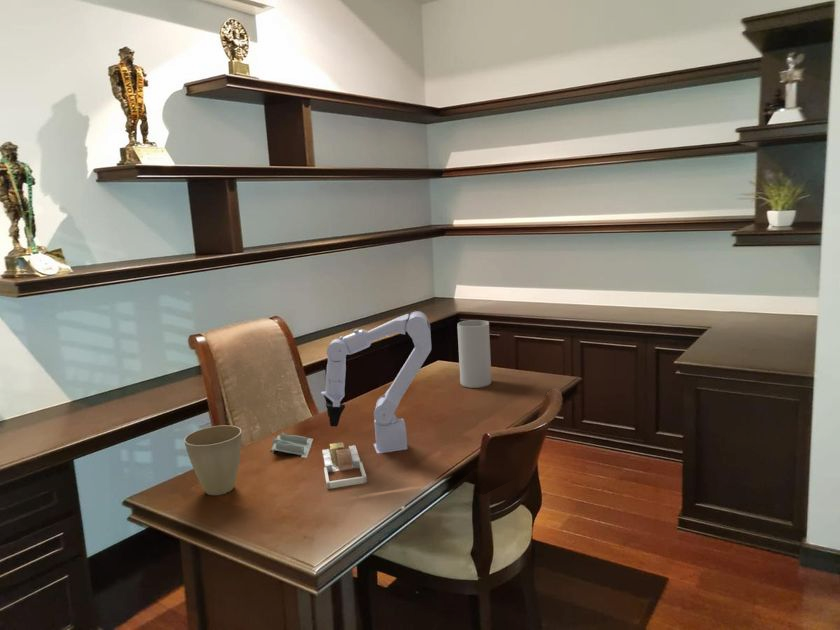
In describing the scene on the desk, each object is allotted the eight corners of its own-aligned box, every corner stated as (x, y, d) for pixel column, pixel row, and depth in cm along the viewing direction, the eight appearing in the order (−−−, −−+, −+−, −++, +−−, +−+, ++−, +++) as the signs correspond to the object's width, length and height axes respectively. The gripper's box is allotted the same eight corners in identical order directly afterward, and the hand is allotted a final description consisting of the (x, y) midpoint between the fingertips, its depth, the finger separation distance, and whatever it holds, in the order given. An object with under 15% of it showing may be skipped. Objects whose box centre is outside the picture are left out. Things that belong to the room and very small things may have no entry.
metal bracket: (268, 445, 186) (277, 427, 201) (265, 463, 187) (274, 443, 202) (315, 454, 187) (321, 435, 202) (312, 472, 188) (318, 452, 203)
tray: (362, 469, 179) (361, 461, 178) (367, 484, 169) (366, 477, 168) (324, 474, 177) (323, 467, 176) (327, 490, 167) (326, 483, 166)
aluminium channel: (355, 453, 190) (355, 445, 190) (360, 469, 179) (360, 460, 178) (323, 457, 188) (322, 449, 188) (325, 474, 177) (325, 465, 176)
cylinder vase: (458, 380, 257) (454, 321, 252) (487, 378, 258) (485, 319, 253) (463, 389, 245) (460, 327, 240) (494, 386, 246) (492, 325, 241)
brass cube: (344, 454, 188) (342, 442, 187) (345, 459, 184) (344, 447, 184) (330, 456, 187) (329, 444, 187) (331, 461, 184) (330, 449, 183)
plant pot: (258, 487, 171) (251, 432, 168) (207, 508, 161) (199, 450, 158) (231, 472, 182) (225, 420, 179) (182, 491, 172) (174, 436, 169)
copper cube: (350, 460, 183) (349, 448, 182) (352, 466, 179) (351, 453, 179) (337, 463, 182) (335, 450, 182) (338, 468, 179) (337, 455, 178)
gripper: (320, 371, 194) (318, 412, 197) (324, 386, 180) (321, 430, 183) (343, 372, 196) (340, 412, 198) (348, 386, 182) (345, 430, 185)
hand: (332, 421), depth 191 cm, fingers open, 7 cm apart
